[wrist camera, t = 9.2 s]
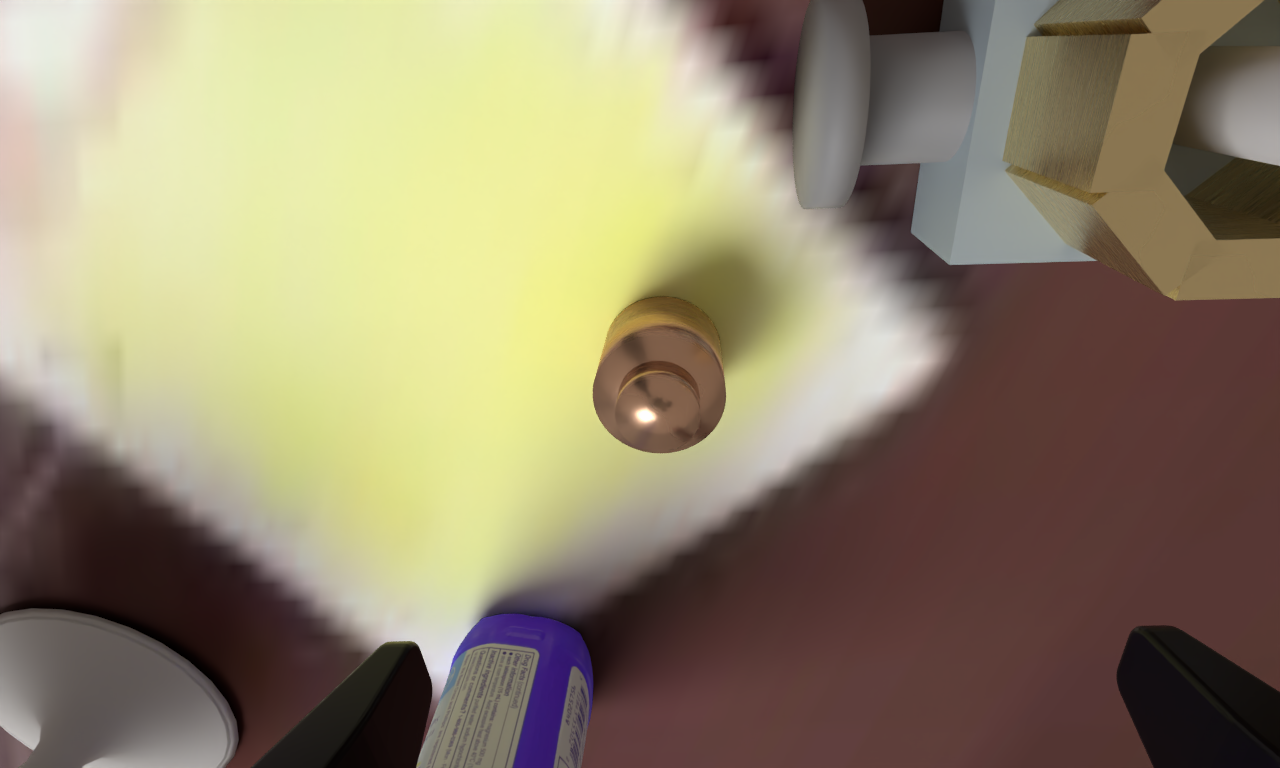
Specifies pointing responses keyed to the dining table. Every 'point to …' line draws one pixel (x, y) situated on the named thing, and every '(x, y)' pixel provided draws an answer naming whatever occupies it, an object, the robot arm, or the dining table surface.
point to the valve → (992, 118)
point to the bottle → (513, 698)
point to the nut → (1138, 149)
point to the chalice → (106, 696)
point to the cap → (660, 376)
